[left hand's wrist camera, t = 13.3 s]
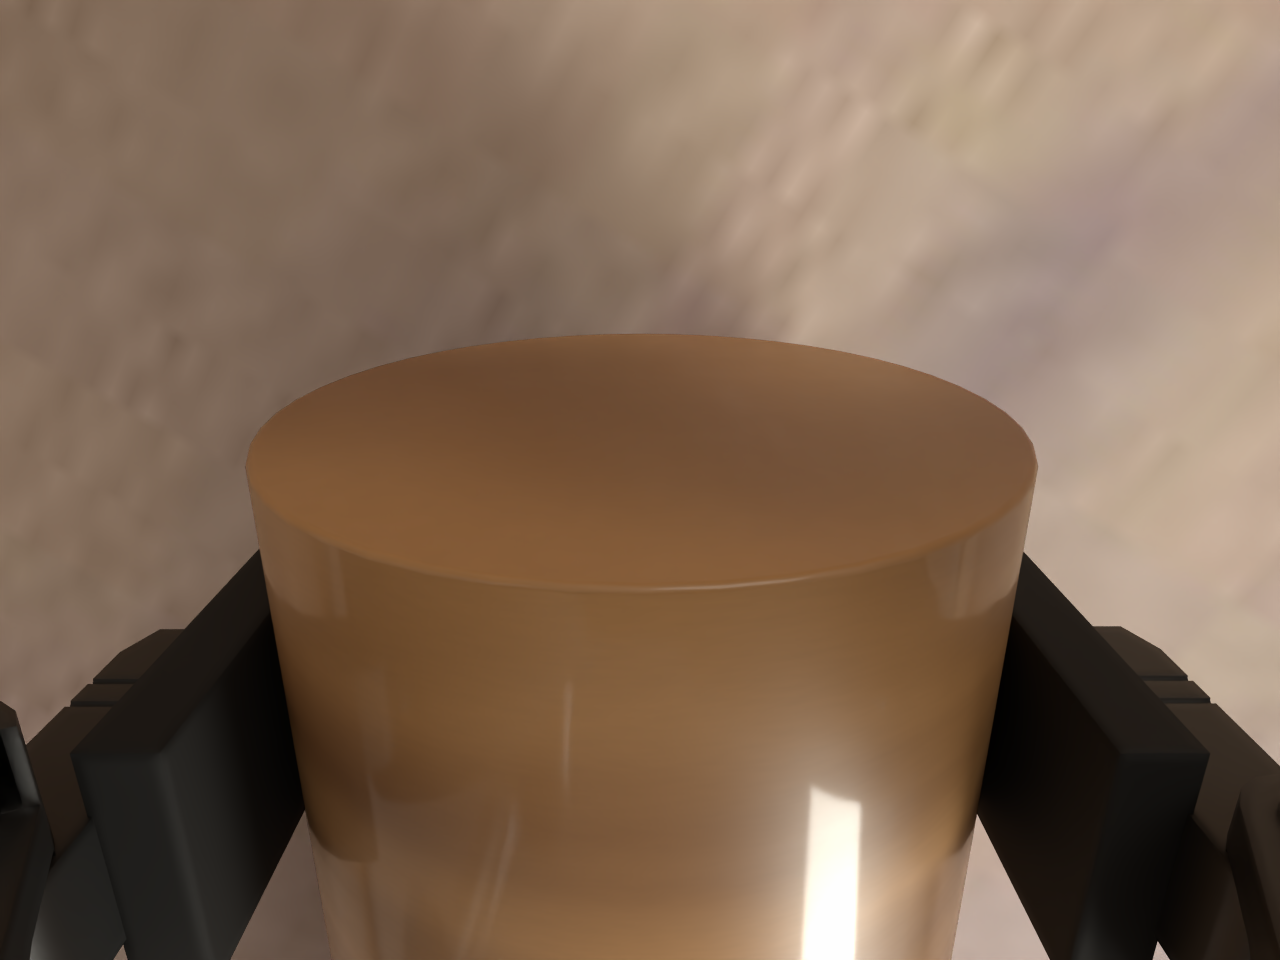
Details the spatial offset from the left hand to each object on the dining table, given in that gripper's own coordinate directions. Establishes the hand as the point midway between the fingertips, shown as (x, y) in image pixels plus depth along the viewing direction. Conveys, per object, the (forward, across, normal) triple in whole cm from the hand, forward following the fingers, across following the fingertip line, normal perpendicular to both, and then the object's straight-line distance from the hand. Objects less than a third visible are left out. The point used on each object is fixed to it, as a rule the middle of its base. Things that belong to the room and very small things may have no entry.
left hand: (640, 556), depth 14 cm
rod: (+1, 0, -9) cm, 9 cm away
